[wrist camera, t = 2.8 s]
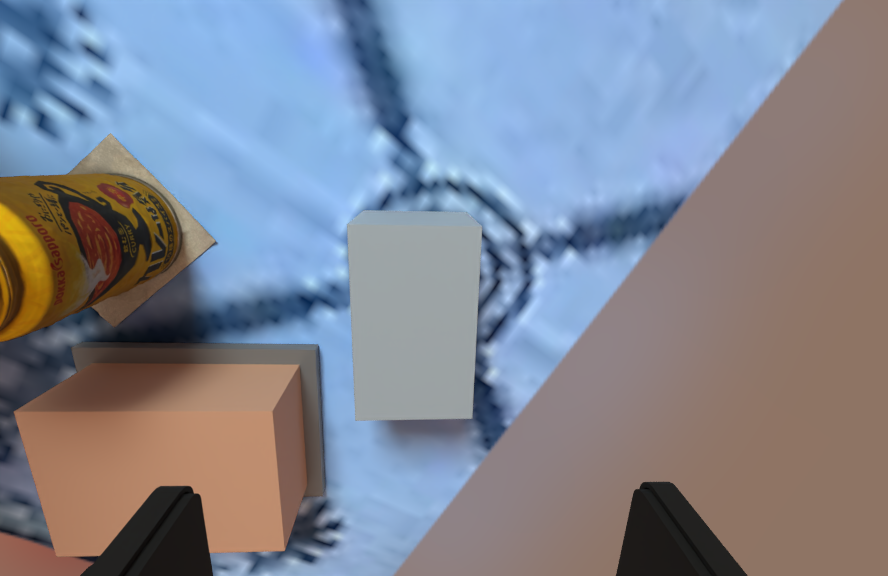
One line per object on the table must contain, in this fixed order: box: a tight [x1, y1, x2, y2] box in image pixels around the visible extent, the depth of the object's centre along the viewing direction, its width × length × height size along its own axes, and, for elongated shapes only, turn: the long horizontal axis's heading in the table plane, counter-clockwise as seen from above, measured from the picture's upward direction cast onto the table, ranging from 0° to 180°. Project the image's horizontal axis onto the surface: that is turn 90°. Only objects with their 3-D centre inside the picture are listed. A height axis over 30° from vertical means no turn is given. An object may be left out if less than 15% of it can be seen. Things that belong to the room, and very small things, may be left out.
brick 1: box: [14, 363, 307, 557], centre depth 24 cm, size 12×9×5 cm
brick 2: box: [347, 210, 482, 421], centre depth 23 cm, size 10×6×6 cm, turn 179°
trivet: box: [71, 342, 325, 497], centre depth 26 cm, size 11×14×1 cm
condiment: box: [0, 133, 216, 342], centre depth 17 cm, size 7×8×12 cm
